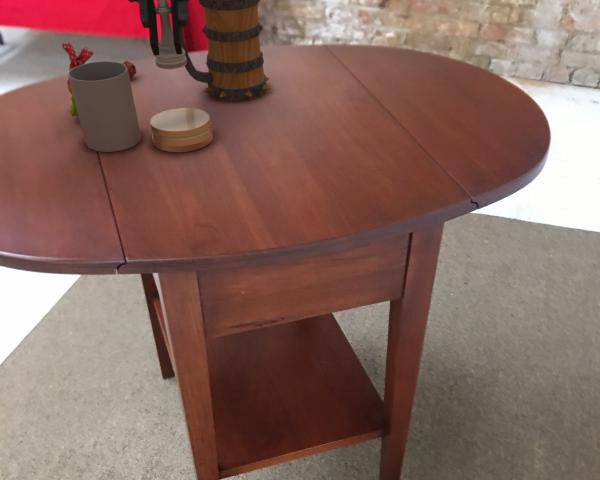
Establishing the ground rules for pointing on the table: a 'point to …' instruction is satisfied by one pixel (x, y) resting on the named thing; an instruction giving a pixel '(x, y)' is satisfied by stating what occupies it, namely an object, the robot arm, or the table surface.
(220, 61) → the mug
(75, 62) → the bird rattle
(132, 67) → the die
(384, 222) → the table surface
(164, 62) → the chess piece
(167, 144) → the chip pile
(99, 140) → the cup
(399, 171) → the table surface
